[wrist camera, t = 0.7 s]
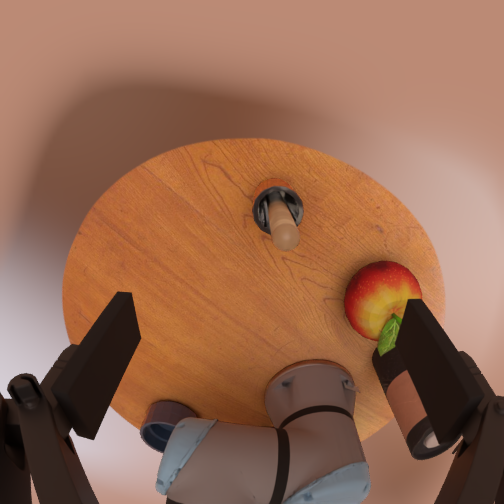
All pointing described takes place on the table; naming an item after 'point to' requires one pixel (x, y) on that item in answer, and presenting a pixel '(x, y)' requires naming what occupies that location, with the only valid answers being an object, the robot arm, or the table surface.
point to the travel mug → (407, 406)
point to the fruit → (380, 301)
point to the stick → (281, 223)
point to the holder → (261, 204)
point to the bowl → (162, 423)
